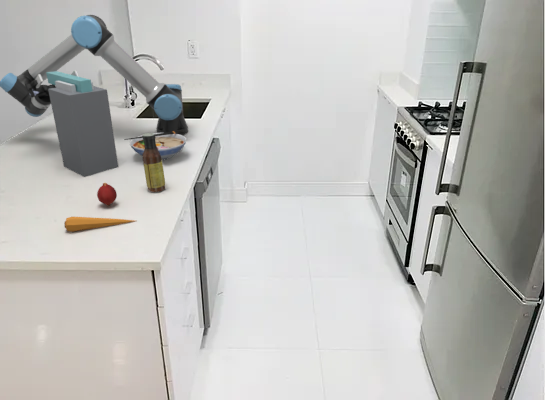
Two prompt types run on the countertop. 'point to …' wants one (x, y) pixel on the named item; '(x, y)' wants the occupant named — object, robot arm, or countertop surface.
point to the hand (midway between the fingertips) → (59, 75)
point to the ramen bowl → (161, 143)
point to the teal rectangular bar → (70, 81)
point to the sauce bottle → (153, 164)
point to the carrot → (91, 223)
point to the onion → (106, 194)
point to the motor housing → (84, 128)
